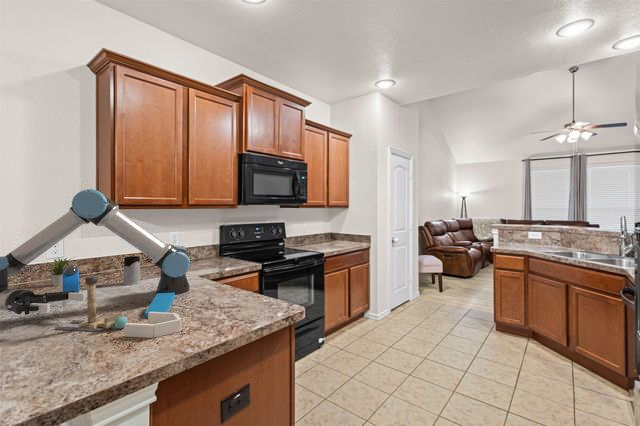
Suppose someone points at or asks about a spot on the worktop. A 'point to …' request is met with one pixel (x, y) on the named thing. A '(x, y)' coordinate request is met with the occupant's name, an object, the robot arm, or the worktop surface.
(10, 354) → the worktop surface
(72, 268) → the alarm clock
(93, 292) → the plunger
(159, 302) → the blue long block
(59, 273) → the house plant
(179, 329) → the pocket
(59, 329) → the track
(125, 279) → the glass holder
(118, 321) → the ball
